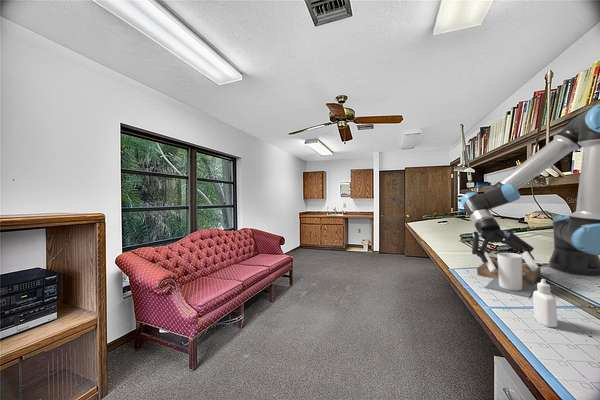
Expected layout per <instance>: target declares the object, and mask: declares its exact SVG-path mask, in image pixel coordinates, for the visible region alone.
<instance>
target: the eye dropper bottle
mask: <svg viewBox="0 0 600 400" xmlns="http://www.w3.org/2000/svg"><path fill="white" fill-rule="evenodd" d="M536 288H537V290H534V291H533V293H532V294H533V295H532V299H533V300H532V301H533V316H534V317H533V318H534V319H535V320H536V321H537V323H539V324H540V325H543V326H544V327H547V328H558V315H557V314H558V311H557V301H556V298H555V296H554V295H552V293H551V286H550V284H548V283H547V282H546V279H545V278H541V280H540V282H537V283H536Z"/></svg>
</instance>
